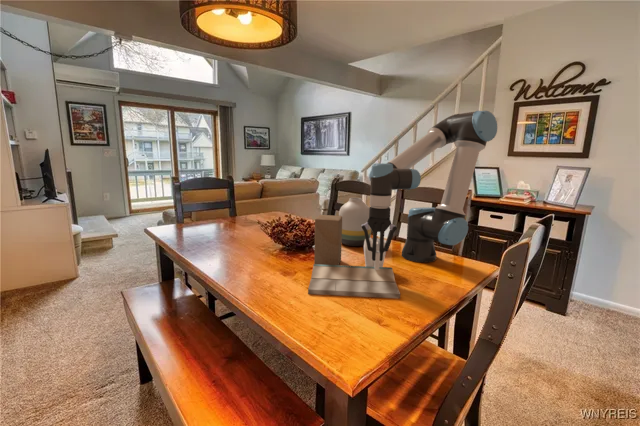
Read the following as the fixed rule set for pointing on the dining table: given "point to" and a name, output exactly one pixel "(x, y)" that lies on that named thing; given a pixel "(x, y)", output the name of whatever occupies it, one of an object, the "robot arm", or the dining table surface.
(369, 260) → the cup
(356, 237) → the vase
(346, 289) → the laid row
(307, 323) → the dining table surface
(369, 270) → the plank
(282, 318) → the dining table surface
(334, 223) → the wooden block
